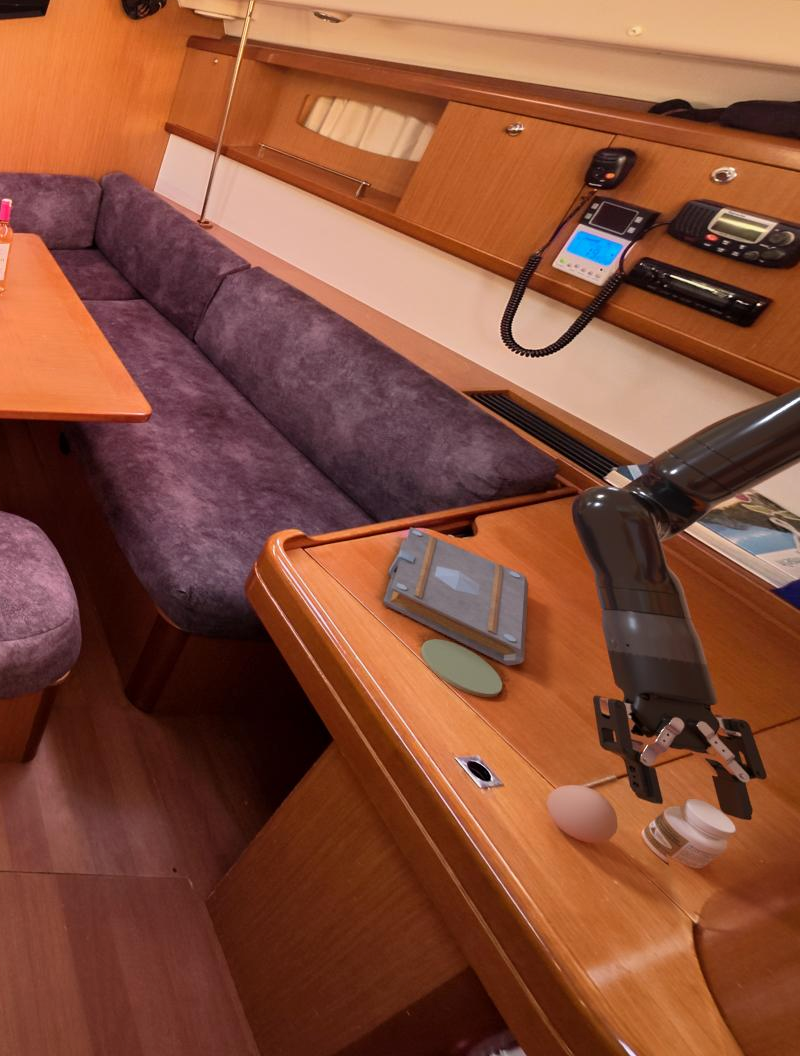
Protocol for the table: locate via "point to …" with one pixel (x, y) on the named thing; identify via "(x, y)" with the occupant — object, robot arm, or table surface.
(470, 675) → the coaster
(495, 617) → the book
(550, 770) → the table surface
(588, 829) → the egg
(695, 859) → the pill bottle
